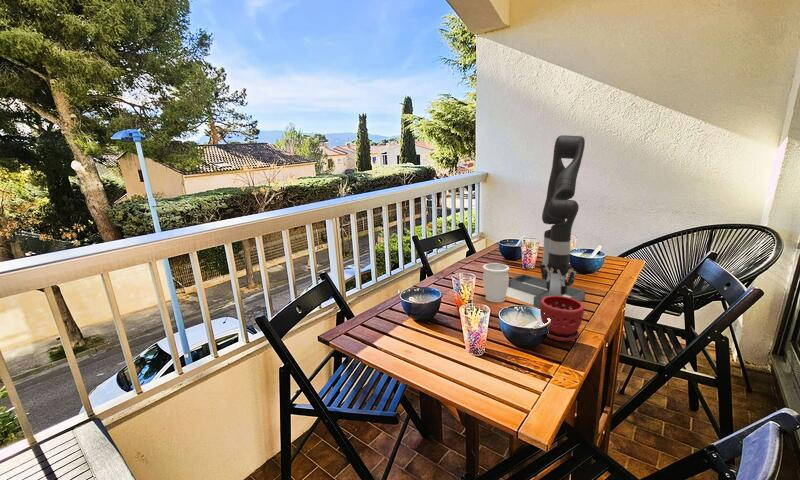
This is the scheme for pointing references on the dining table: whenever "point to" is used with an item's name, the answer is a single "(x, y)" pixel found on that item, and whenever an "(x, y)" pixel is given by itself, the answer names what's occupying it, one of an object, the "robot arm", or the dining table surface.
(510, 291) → the channel board
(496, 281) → the jar
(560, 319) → the plant pot
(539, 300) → the channel walls
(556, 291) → the peg
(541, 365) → the dining table surface
